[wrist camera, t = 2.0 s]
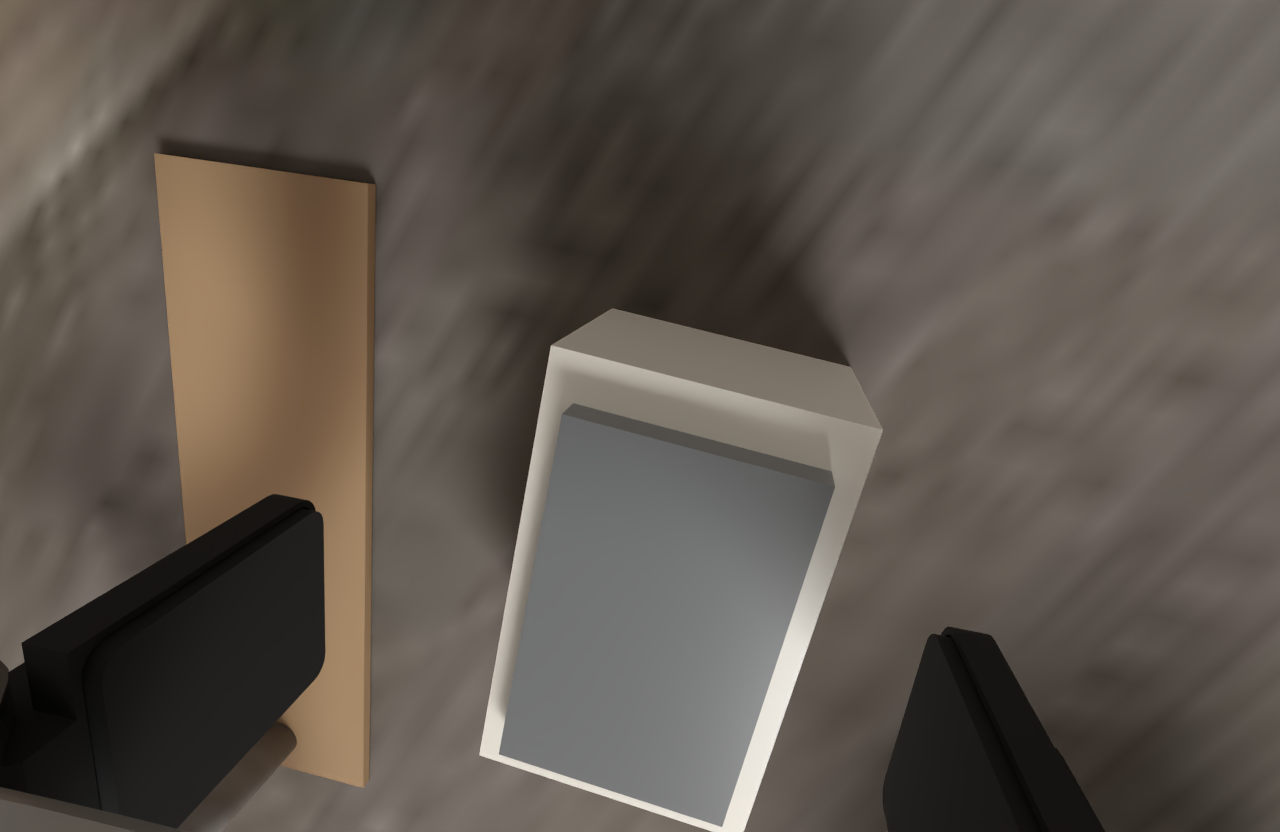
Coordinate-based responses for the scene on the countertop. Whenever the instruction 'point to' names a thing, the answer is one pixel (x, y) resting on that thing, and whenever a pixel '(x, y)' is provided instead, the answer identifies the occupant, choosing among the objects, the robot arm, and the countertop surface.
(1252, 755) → the countertop surface
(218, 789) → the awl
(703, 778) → the white and grey block
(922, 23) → the countertop surface
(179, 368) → the strip
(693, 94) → the countertop surface
